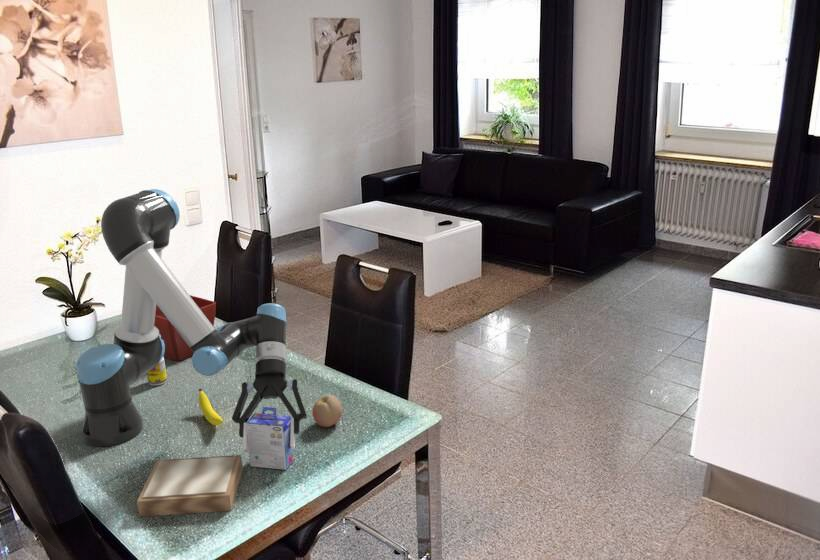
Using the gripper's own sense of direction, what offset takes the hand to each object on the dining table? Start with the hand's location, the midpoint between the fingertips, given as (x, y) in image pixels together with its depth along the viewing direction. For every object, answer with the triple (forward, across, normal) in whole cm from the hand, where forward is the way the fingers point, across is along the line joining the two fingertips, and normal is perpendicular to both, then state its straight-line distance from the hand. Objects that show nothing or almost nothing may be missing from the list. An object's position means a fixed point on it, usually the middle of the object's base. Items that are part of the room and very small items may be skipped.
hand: (269, 449), depth 167 cm
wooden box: (+9, -17, -1) cm, 19 cm away
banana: (-14, -19, +22) cm, 32 cm away
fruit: (-10, +13, +18) cm, 25 cm away
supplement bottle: (-33, -41, +41) cm, 66 cm away
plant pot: (-49, -39, +57) cm, 85 cm away
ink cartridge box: (+2, 0, +6) cm, 7 cm away
